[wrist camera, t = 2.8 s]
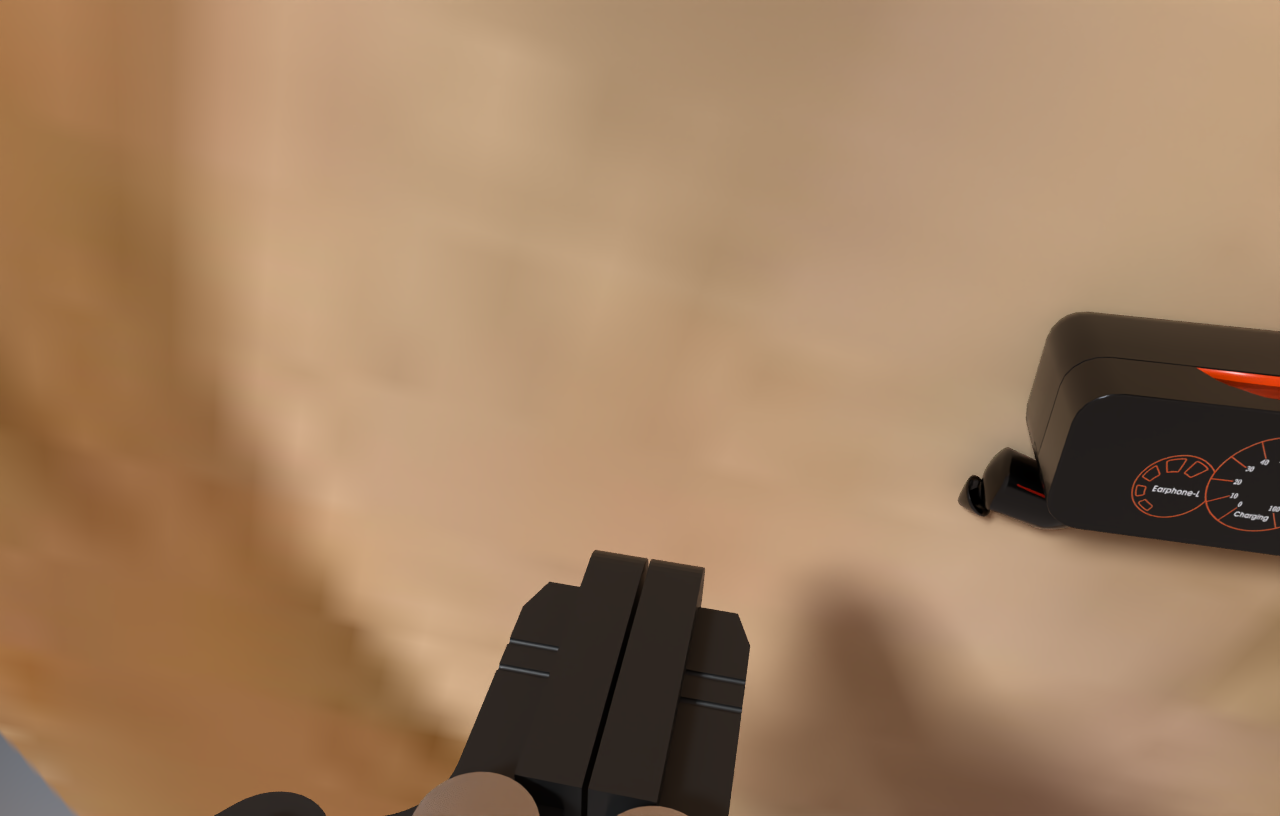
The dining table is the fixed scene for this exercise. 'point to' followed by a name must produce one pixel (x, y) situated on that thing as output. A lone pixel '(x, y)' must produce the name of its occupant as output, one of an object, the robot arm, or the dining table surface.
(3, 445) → the dining table surface
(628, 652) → the robot arm
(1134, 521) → the wireless earbuds
